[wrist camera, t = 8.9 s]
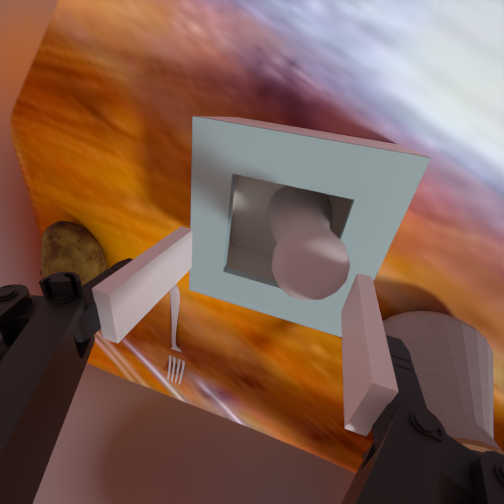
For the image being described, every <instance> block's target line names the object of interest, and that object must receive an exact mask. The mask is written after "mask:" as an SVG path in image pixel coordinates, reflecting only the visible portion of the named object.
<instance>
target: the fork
mask: <svg viewBox="0 0 504 504" xmlns="http://www.w3.org/2000/svg"><path fill="white" fill-rule="evenodd" d="M179 301H180V294H179V289H178V287H177V285H176V284H175V285H174V286H173V287H172V288H171V289H170V303H171V319H172V347H171V349H173V350H176V351H179V352H182V351H181V350H180V348H178V347H177V345H176V328H177V321H178V314H179ZM172 358H173V369H172V377H171V382H172V380H173V376H174V370H175V363H176V358H175V357H172ZM177 360H178V365H177V371H176V378H175V383H176V381H177V377H178V372H179V367H180V361H181V360H180V359H177ZM184 365H185V362H184V361H182V368H181V373H180V379H179V385H180V382H181V378H182V374H183V370H184ZM170 367H171V356H170V355H169V366H168V378H167V380H169V375H170Z"/></svg>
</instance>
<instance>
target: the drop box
mask: <svg viewBox="0 0 504 504" xmlns="http://www.w3.org/2000/svg"><path fill="white" fill-rule="evenodd" d="M430 159H431V158H430V157H427V156H425V155H422V154H420V153H417V152H415V151H412V150H410V149H408V148H405V147H403V146H400V145H398V144H394V143H388V142H382V141H376V140H370V139H364V138H359V137H353V136H347V135H341V134H335V133H329V132H323V131H317V130H312V129H306V128H300V127H294V126H288V125H282V124H276V123H271V122H265V121H259V120H253V119H247V118H241V117H208V116H193V118H192V171H191V224H190V229H193V234H192V268H191V269H190V276H189V290H191V291H194V292H198V293H201V294H204V295H207V296H210V297H214V298H217V299H220V300H223V301H226V302H230V303H233V304H236V305H239V306H243V307H246V308H249V309H252V310H255V311H259V312H262V313H265V314H268V315H271V316H275V317H278V318H281V319H284V320H288V321H291V322H294V323H297V324H300V325H304V326H307V327H310V328H313V329H316V330H320V331H323V332H326V333H329V334H333V335H336V336H339V337H342V324H341V310H342V308H343V306H344V303H345V301H346V298H347V296H348V294H349V291H350V289H351V287H352V284H353V282H354V279H355V277H356V275H357V273H360V274H363V275H367V276H371V277H372V279H373V281H374V279H375V277H376V275H377V273H378V271H379V268H380V266H381V264H382V262H383V260H384V258H385V256H386V253H387V251H388V249H389V247H390V245H391V243H392V241H393V238H394V236H395V234H396V232H397V230H398V228H399V226H400V223H401V221H402V219H403V217H404V215H405V213H406V211H407V208H408V206H409V204H410V202H411V200H412V198H413V196H414V193H415V191H416V189H417V187H418V185H419V183H420V181H421V178H422V176H423V174H424V172H425V170H426V168H427V166H428V164H429V161H430ZM285 185H288V186H292V187H297V188H302V189H306V190H311V191H316V192H320V193H325V194H326V195H328V197H329V200H330V204H331V207H332V232H333V233H334V234H335V235H336V236H337V237H338V238H339V239H340V240H341V241H342V242H343V243H344V244H345V247H346V250H347V254H348V257H349V261H350V269H349V273H348V277H347V281H346V282H345V283H344V284H343V285H342V287H341V288H340V289H339V290H338V291H337V292H336V293H334V294H332V295H330V296H328V297H326V298H324V299H322V300H310V301H304V300H301V299H297V298H294V297H290V296H289V295H288V294H287V293H286V292H284V291H283V290H282V289H281V288H280V287H279V286H278V284H277V281H276V279H275V277H274V275H273V272H272V259H273V252H274V248H275V247H276V245H277V244H276V241H275V239H274V237H273V234H272V232H271V229H270V227H269V225H268V222H267V220H266V217H267V206H268V204H269V202H270V200H271V198H272V197H273V195H274V193H275V192H276V191H278V190H279V189H281V188H282V187H284V186H285Z"/></svg>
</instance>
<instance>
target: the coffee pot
mask: <svg viewBox="0 0 504 504" xmlns="http://www.w3.org/2000/svg"><path fill="white" fill-rule="evenodd" d="M382 322H383V326H384V331H385V335H388V336H392V337H395V338H398V339H401V340H402V342H403V343H404V344H405V346H406V347H407V349H408V350H409V352H410V356H411V359H412V363H413V365H414V368H415V373H416V375H417V378H418V381H419V384H420V387H421V390H422V394H423V397H424V400H425V403H426V406H427V409H428V410H429V411H430V412H432V413H433V414H434V415H435V416H436V417H437V418H438V420H439V421H440V422H441V423H442V425H443V426H444V429H445V431H446V433H447V435H449V436H450V437H452V438H453V439H454V440H456V441H457V442H459V443H461V444H462V445H464V446H465V447H467V448H469V449H470V450H472V451H473V452H475V453H477V454H478V455H481V454H482V453H484V452H485V451H495V452H498V453H500V454H503V455H504V451H502V450H501V449H500V447H499V446H498V445H497V443H496V442H495V441H494V429H493V352H492V350H491V348H490V346H489V344H488V342H487V340H486V338H485V337H483V336H482V335H481V334H480V333H479V332H478V331H477V330H476V329H475V328H474V327H472V326H470V325H468V324H467V323H465V322H463V321H461V320H459V319H457V318H455V317H453V316H450V315H446V314H443V313H439V312H432V311H412V312H404V313H401V314H397V315H394V316H391V317H389V318H387V319H385V320H384V321H382Z"/></svg>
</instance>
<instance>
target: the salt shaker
mask: <svg viewBox="0 0 504 504" xmlns="http://www.w3.org/2000/svg"><path fill="white" fill-rule="evenodd" d="M266 220H267V222H268V225H269V227H270V229H271V232H272V234H273V237H274V239H275V241H276V244H277V245H276V247H275V248H274V252H273V259H272V272H273V275H274V277H275V279H276V281H277V284H278V286H279V287H280V288H281V289H282V290H283V291H284V292H286V293H287V294H288V295H289V296H290V297H294V298H297V299H301V300H304V301H310V300H322V299H324V298H326V297H328V296H330V295H332V294H334V293H336V292H337V291H338V290H339V289H340V288H341V287H342V285H343V284H344V283H345V282H346V281H347V277H348V273H349V269H350V261H349V257H348V254H347V250H346V247H345V244H344V243H343V242H342V241H341V240H340V239H339V238H338V237H337V236H336V235H335V234H334V233H333V232H332V207H331V204H330V200H329V197H328V195H326V194H325V193H320V192H316V191H311V190H306V189H302V188H297V187H292V186H288V185H285V186H284V187H282V188H281V189H279V190H278V191H276V192H275V193H274V195H273V197H272V198H271V200H270V202H269V204H268V206H267V217H266Z"/></svg>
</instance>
